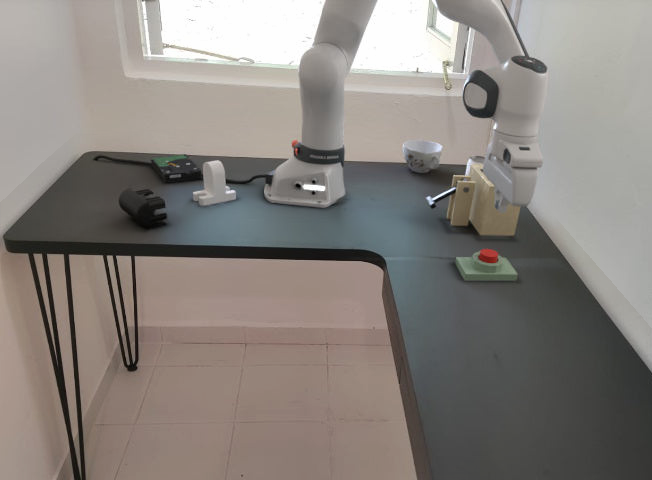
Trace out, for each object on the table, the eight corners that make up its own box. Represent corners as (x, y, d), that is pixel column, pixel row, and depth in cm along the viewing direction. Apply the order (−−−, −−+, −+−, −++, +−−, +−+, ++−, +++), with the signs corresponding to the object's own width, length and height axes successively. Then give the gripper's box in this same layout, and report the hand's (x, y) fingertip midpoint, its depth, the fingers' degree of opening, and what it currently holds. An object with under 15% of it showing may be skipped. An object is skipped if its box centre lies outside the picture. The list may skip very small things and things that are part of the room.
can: (476, 205, 168) (484, 164, 162) (457, 198, 171) (464, 158, 165) (487, 199, 173) (495, 159, 166) (468, 193, 176) (475, 153, 169)
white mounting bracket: (236, 199, 157) (235, 162, 151) (202, 206, 151) (199, 167, 145) (226, 192, 160) (224, 156, 154) (192, 199, 154) (189, 161, 149)
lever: (432, 211, 148) (429, 203, 147) (428, 203, 153) (424, 195, 151) (472, 190, 147) (469, 182, 146) (467, 183, 151) (463, 175, 150)
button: (481, 264, 130) (483, 256, 129) (476, 255, 133) (477, 248, 132) (499, 264, 131) (500, 257, 130) (493, 255, 134) (494, 248, 133)
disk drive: (202, 180, 166) (186, 162, 176) (202, 170, 165) (185, 153, 175) (165, 184, 161) (150, 166, 171) (164, 174, 160) (149, 156, 170)
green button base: (464, 280, 129) (467, 266, 128) (455, 263, 136) (457, 249, 134) (516, 281, 131) (519, 267, 130) (504, 264, 138) (507, 250, 136)
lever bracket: (449, 232, 151) (457, 184, 144) (441, 219, 157) (448, 172, 150) (471, 232, 152) (480, 184, 145) (463, 220, 158) (471, 173, 151)
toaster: (478, 239, 148) (489, 185, 141) (461, 213, 162) (470, 163, 154) (513, 240, 150) (526, 186, 142) (493, 214, 163) (503, 164, 156)
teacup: (392, 165, 191) (395, 141, 187) (423, 161, 198) (426, 137, 193) (420, 181, 181) (423, 155, 177) (451, 176, 187) (455, 151, 183)
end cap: (120, 217, 141) (116, 190, 137) (149, 211, 145) (146, 184, 142) (139, 232, 135) (135, 204, 131) (168, 225, 139) (165, 198, 136)
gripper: (482, 130, 127) (471, 192, 134) (515, 161, 110) (501, 229, 117) (509, 131, 128) (498, 192, 135) (547, 162, 111) (531, 230, 118)
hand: (499, 210), depth 126 cm, fingers closed
